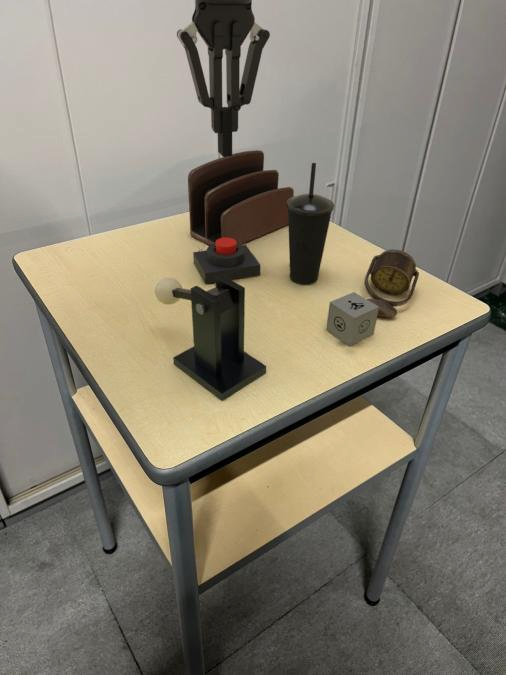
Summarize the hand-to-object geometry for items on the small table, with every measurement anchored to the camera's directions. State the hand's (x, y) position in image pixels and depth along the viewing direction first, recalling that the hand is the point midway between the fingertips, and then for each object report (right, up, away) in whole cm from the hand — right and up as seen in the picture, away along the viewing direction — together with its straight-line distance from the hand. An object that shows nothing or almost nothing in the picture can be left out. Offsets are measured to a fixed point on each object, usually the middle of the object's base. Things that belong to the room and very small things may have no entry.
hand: (225, 153), depth 80 cm
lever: (-3, -25, -12) cm, 28 cm away
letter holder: (+2, -7, +26) cm, 27 cm away
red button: (0, -14, +10) cm, 17 cm away
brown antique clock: (+26, -22, +6) cm, 35 cm away
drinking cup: (+13, -18, +10) cm, 25 cm away
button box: (0, -16, +12) cm, 20 cm away
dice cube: (+19, -28, -2) cm, 34 cm away
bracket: (0, -33, -10) cm, 34 cm away
